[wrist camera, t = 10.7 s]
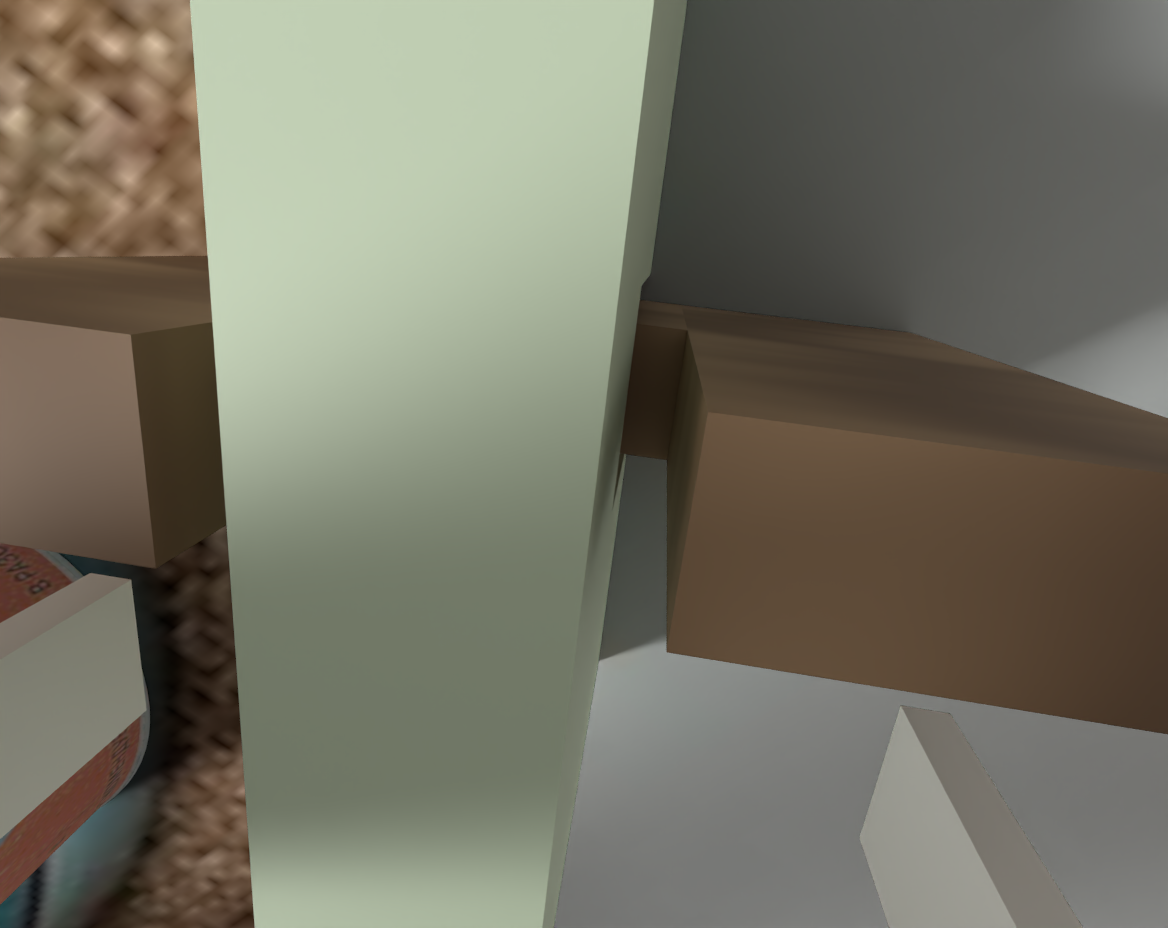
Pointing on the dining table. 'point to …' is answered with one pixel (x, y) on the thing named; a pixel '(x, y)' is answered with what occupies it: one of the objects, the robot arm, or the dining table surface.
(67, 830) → the canned food
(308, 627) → the green arch bridge
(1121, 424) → the brown u-shaped block
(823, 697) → the dining table surface
